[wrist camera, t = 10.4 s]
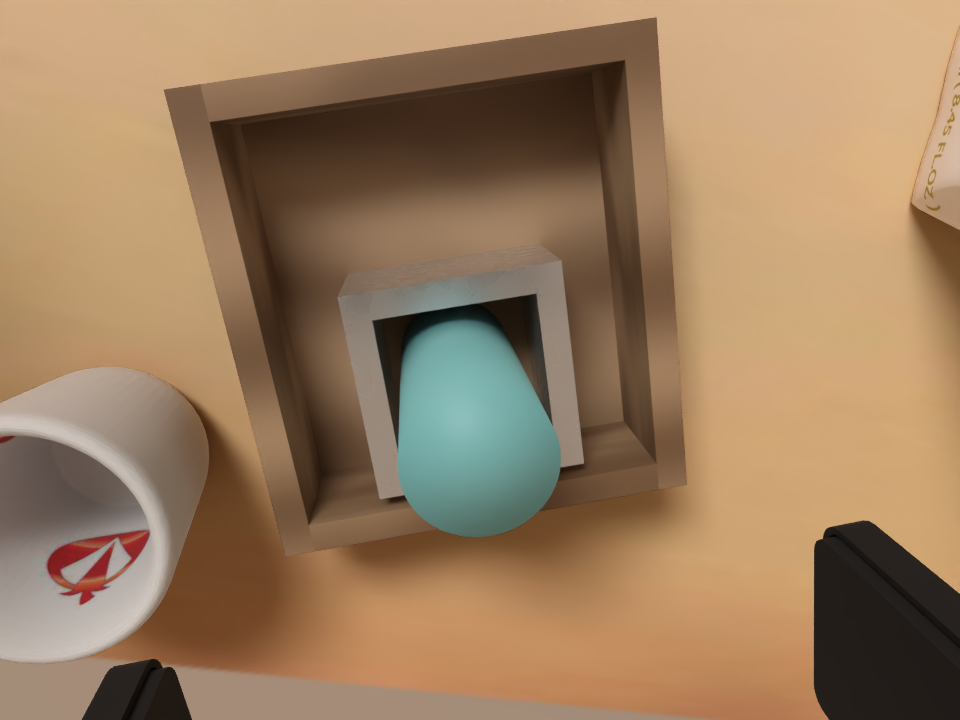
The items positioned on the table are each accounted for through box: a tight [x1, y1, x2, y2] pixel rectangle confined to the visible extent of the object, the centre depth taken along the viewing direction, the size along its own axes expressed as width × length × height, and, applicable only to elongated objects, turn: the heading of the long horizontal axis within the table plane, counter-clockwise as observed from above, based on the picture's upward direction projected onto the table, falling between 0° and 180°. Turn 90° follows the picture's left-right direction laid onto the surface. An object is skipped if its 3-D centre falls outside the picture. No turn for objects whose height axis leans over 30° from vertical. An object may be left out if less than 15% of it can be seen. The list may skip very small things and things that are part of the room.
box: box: [164, 18, 687, 556], centre depth 25 cm, size 15×14×5 cm
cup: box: [0, 367, 209, 664], centre depth 24 cm, size 11×8×8 cm
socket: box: [338, 243, 584, 499], centre depth 25 cm, size 7×7×4 cm
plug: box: [398, 303, 561, 537], centre depth 22 cm, size 4×4×10 cm
